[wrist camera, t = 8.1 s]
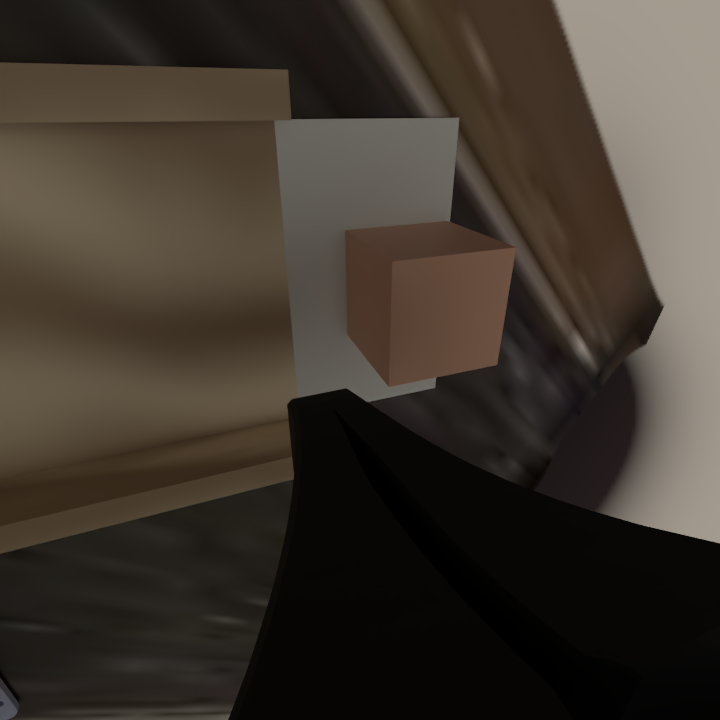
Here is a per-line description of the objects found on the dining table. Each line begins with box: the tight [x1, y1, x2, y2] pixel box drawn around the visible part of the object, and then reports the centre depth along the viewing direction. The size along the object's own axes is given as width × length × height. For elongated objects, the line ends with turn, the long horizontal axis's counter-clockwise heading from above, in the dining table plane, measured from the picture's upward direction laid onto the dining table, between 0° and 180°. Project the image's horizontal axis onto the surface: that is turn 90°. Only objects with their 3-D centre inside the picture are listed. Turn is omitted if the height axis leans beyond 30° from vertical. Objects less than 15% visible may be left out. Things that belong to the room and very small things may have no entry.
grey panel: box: [274, 118, 459, 402], centre depth 19 cm, size 12×7×1 cm, turn 179°
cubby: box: [0, 63, 298, 554], centre depth 14 cm, size 14×17×3 cm
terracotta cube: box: [345, 221, 516, 387], centre depth 17 cm, size 4×4×4 cm
